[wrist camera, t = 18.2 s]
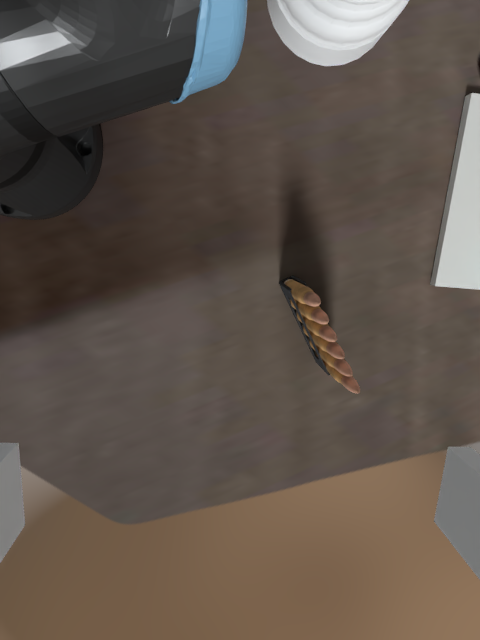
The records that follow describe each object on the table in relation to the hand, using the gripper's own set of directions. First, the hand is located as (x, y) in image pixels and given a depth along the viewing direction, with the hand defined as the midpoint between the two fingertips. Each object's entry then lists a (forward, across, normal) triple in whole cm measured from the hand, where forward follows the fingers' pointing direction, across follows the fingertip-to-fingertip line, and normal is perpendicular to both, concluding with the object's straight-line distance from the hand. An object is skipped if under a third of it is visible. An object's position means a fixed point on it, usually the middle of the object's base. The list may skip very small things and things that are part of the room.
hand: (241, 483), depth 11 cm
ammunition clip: (+32, +10, -1) cm, 33 cm away
